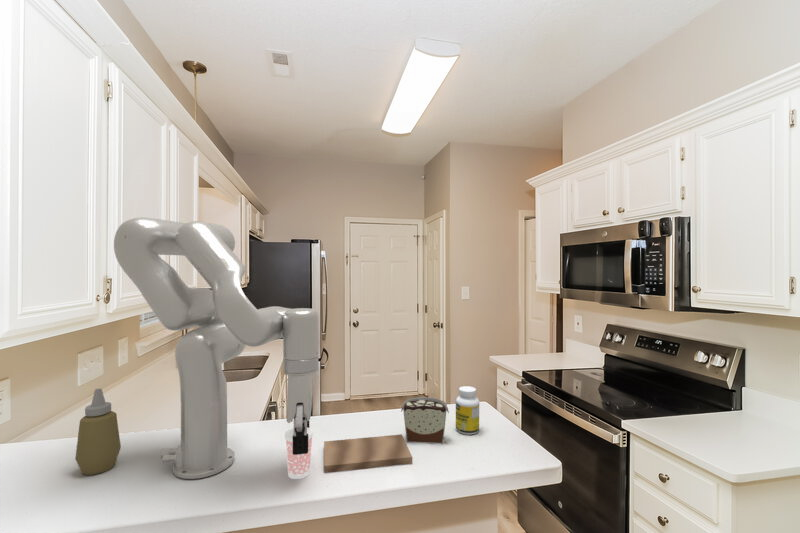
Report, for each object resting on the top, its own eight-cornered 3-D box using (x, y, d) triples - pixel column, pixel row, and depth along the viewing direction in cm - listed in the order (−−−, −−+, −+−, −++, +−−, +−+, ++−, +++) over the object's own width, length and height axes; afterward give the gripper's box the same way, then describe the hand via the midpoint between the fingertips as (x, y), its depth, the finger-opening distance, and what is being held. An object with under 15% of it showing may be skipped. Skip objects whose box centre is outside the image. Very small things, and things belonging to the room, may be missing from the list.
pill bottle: (451, 427, 108) (451, 386, 108) (472, 424, 110) (472, 384, 110) (462, 437, 102) (462, 393, 102) (483, 433, 104) (483, 391, 104)
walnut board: (324, 472, 84) (324, 466, 84) (324, 447, 96) (324, 441, 96) (412, 463, 88) (412, 457, 88) (401, 440, 100) (401, 434, 100)
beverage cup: (285, 468, 86) (285, 406, 87) (312, 465, 88) (313, 403, 88) (283, 482, 80) (284, 415, 81) (313, 478, 82) (313, 413, 82)
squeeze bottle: (84, 463, 89) (83, 386, 89) (125, 457, 92) (125, 382, 91) (68, 481, 81) (67, 397, 81) (114, 474, 84) (113, 392, 84)
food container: (448, 433, 104) (448, 397, 104) (448, 444, 98) (448, 405, 98) (403, 431, 105) (403, 395, 105) (401, 442, 99) (401, 403, 99)
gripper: (287, 356, 92) (287, 430, 92) (278, 377, 75) (279, 468, 75) (318, 354, 93) (319, 428, 94) (317, 374, 77) (318, 464, 77)
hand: (301, 445), depth 84 cm, fingers closed on beverage cup, 6 cm apart
